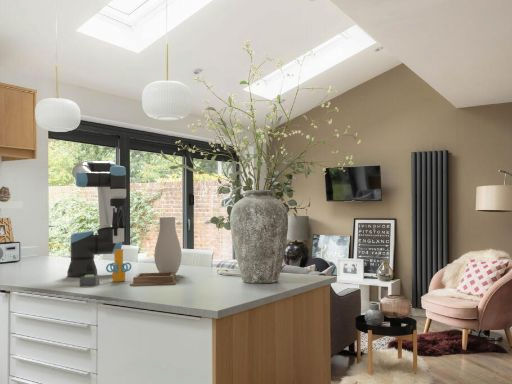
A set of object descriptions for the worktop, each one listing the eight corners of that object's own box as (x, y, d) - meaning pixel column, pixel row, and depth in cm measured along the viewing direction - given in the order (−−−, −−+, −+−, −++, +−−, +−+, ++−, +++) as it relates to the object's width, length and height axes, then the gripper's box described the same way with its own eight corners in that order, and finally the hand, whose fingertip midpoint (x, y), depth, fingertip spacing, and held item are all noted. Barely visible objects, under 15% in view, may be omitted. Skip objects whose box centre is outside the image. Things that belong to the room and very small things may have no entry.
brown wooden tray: (136, 280, 246) (136, 273, 246) (178, 278, 248) (177, 271, 248) (129, 285, 227) (129, 278, 227) (175, 284, 229) (175, 276, 229)
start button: (86, 281, 234) (86, 274, 234) (95, 280, 234) (95, 274, 234) (83, 282, 230) (83, 275, 230) (93, 282, 230) (93, 275, 230)
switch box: (83, 284, 235) (83, 275, 235) (99, 283, 236) (99, 275, 236) (79, 286, 228) (79, 277, 228) (95, 286, 229) (95, 277, 229)
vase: (176, 277, 255) (175, 217, 256) (150, 277, 257) (149, 217, 258) (185, 273, 268) (184, 216, 269) (160, 273, 270) (159, 217, 272)
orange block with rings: (126, 282, 239) (126, 250, 239) (104, 283, 239) (103, 250, 239) (133, 279, 251) (132, 248, 251) (112, 279, 251) (111, 248, 251)
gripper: (115, 199, 258) (115, 241, 257) (104, 197, 233) (105, 243, 232) (130, 198, 259) (130, 240, 258) (121, 196, 234) (122, 243, 233)
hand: (118, 242), depth 245 cm, fingers open, 13 cm apart
